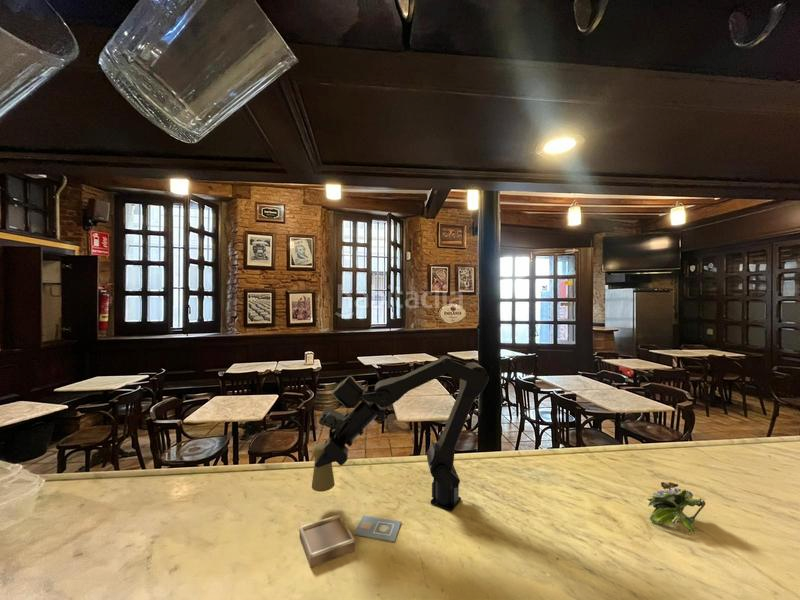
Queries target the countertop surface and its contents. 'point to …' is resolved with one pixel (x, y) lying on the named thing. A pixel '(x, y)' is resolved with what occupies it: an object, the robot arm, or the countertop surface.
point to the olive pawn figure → (322, 472)
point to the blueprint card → (378, 528)
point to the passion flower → (673, 506)
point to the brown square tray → (326, 540)
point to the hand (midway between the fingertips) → (317, 461)
